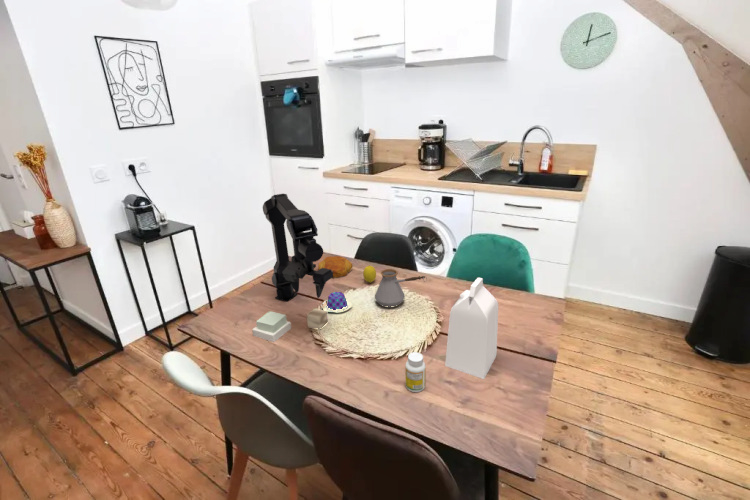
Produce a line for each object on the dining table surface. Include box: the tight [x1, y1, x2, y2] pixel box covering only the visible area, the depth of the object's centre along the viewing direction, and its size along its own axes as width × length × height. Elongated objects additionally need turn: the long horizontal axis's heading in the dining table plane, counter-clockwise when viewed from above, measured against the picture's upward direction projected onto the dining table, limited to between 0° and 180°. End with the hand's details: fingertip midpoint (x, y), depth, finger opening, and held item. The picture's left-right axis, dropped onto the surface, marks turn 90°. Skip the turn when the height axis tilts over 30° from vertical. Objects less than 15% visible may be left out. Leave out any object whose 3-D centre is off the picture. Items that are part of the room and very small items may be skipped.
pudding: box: [322, 291, 348, 310], centre depth 145 cm, size 12×12×5 cm
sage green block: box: [255, 310, 288, 333], centre depth 130 cm, size 7×7×3 cm
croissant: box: [317, 255, 354, 279], centre depth 174 cm, size 14×16×8 cm
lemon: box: [362, 265, 377, 283], centre depth 163 cm, size 6×6×8 cm
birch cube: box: [306, 307, 329, 329], centre depth 133 cm, size 5×5×5 cm
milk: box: [444, 277, 499, 380], centre depth 109 cm, size 12×12×26 cm
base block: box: [251, 320, 292, 343], centre depth 131 cm, size 9×9×3 cm
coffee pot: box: [374, 268, 428, 308], centre depth 142 cm, size 21×12×15 cm, turn 54°
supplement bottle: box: [404, 351, 427, 393], centre depth 103 cm, size 5×5×10 cm
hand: (307, 294), depth 129 cm, fingers open, 9 cm apart
